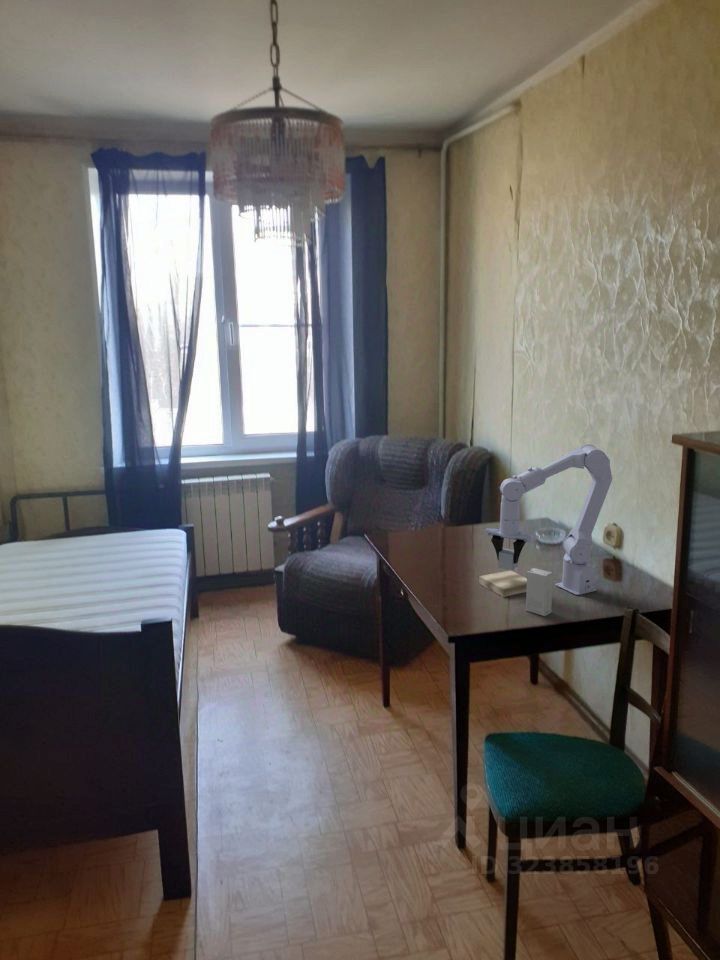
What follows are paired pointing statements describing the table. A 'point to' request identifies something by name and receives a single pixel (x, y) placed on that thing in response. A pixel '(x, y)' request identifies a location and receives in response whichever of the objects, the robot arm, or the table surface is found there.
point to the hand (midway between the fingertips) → (507, 561)
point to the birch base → (504, 583)
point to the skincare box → (539, 591)
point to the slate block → (507, 559)
